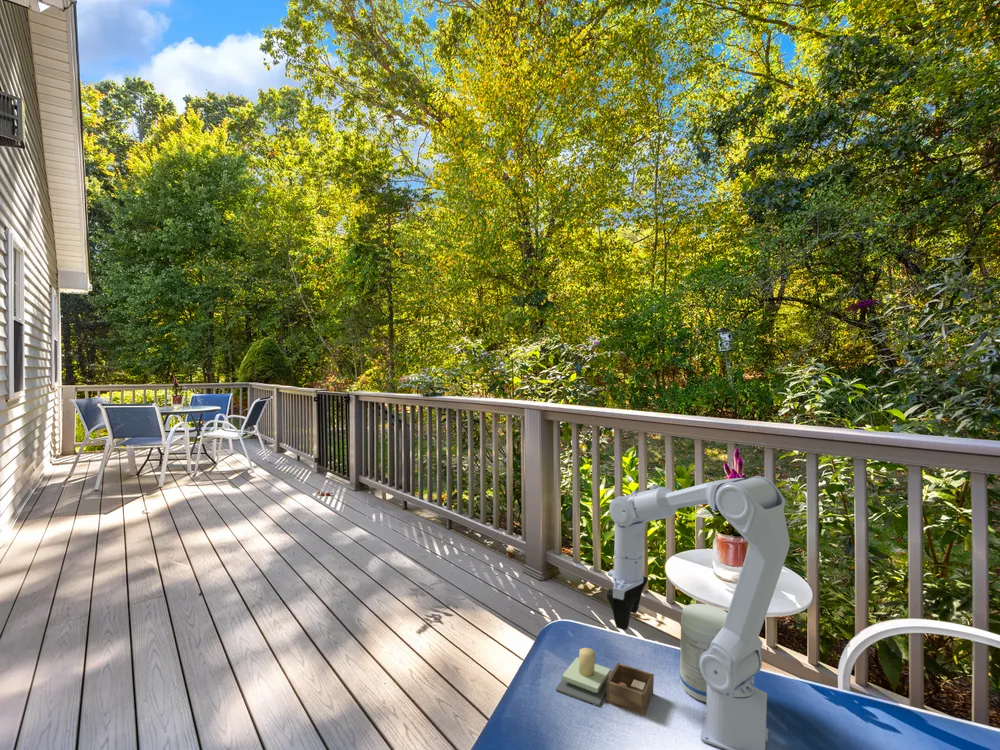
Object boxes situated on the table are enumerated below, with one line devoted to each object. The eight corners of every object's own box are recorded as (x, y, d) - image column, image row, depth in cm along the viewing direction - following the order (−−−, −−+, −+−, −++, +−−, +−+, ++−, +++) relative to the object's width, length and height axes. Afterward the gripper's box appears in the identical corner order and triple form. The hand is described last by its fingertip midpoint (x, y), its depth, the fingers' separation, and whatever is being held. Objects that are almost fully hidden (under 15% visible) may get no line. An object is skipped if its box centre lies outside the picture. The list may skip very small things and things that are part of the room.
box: (653, 695, 95) (653, 674, 95) (644, 717, 89) (644, 695, 89) (617, 682, 98) (617, 662, 98) (605, 703, 92) (606, 681, 92)
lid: (610, 677, 99) (610, 649, 99) (597, 697, 93) (597, 667, 93) (576, 664, 103) (577, 638, 103) (561, 683, 97) (562, 655, 96)
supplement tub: (695, 668, 103) (697, 598, 103) (741, 692, 96) (744, 616, 95) (669, 686, 97) (671, 612, 97) (716, 713, 90) (719, 633, 89)
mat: (616, 674, 100) (616, 672, 100) (598, 706, 91) (598, 704, 91) (576, 661, 105) (576, 659, 105) (555, 690, 95) (555, 688, 95)
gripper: (619, 539, 110) (617, 600, 110) (598, 561, 97) (596, 630, 97) (651, 545, 106) (650, 608, 107) (634, 569, 94) (632, 640, 94)
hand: (626, 619), depth 102 cm, fingers open, 7 cm apart
